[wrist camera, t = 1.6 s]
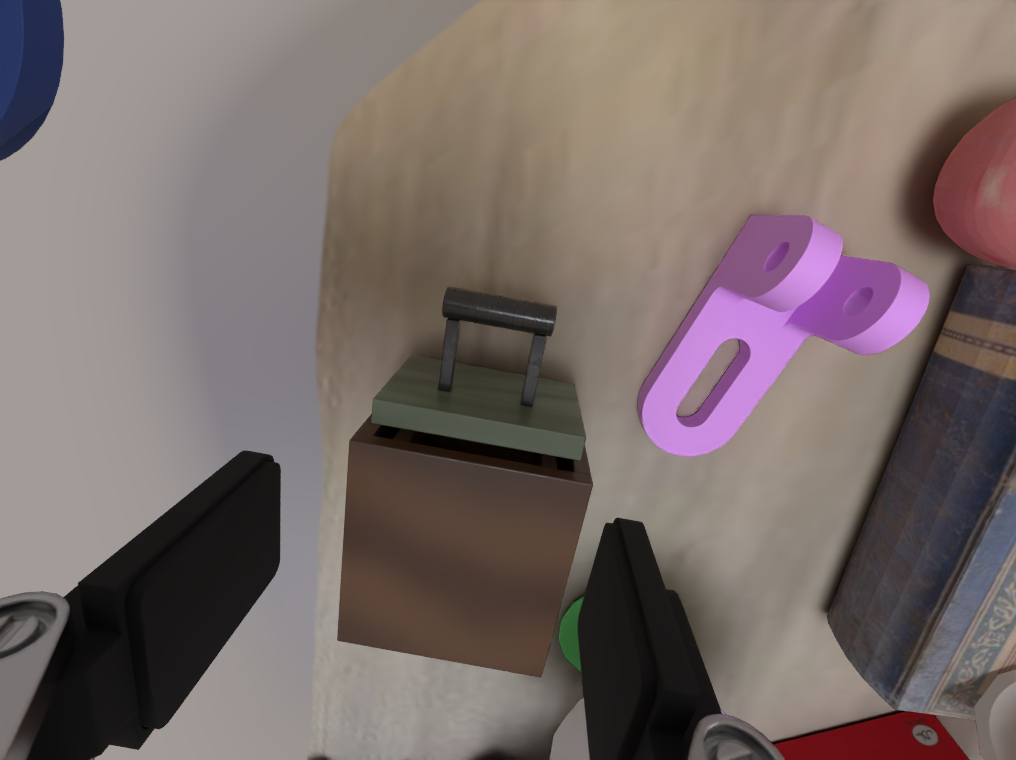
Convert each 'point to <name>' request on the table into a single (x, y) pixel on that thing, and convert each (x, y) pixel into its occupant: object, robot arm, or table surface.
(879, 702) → the table surface
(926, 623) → the book
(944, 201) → the apple
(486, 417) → the drawer
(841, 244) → the bracket
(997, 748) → the pendant light
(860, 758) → the food packaging
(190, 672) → the robot arm
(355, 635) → the cabinet
